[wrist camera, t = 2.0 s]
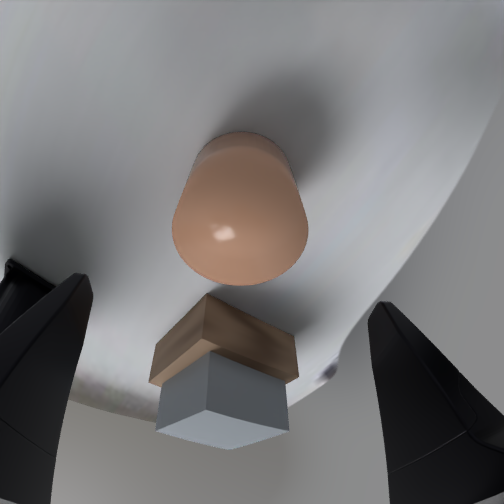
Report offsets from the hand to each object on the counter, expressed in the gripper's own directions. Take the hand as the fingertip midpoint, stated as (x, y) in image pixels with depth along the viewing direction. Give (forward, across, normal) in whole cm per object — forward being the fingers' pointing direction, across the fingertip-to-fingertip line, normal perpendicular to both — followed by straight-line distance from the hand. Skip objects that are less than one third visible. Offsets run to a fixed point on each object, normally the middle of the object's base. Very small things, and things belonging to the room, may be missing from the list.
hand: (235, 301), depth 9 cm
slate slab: (+4, 0, +14) cm, 15 cm away
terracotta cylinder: (+8, 0, 0) cm, 8 cm away
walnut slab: (+8, 0, +14) cm, 16 cm away
